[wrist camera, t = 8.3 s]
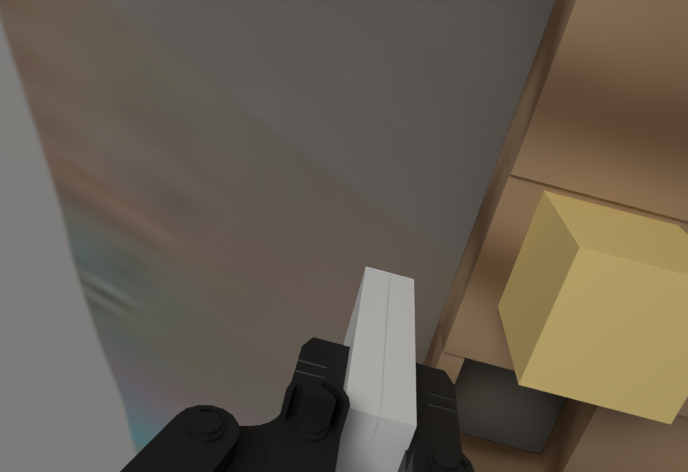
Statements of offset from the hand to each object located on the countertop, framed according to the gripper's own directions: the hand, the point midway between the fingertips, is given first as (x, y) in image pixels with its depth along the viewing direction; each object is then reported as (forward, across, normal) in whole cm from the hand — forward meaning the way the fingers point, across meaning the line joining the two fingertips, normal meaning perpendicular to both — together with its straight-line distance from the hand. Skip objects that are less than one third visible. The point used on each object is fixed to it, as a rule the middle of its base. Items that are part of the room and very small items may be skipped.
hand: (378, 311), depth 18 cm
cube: (+5, +8, +1) cm, 9 cm away
